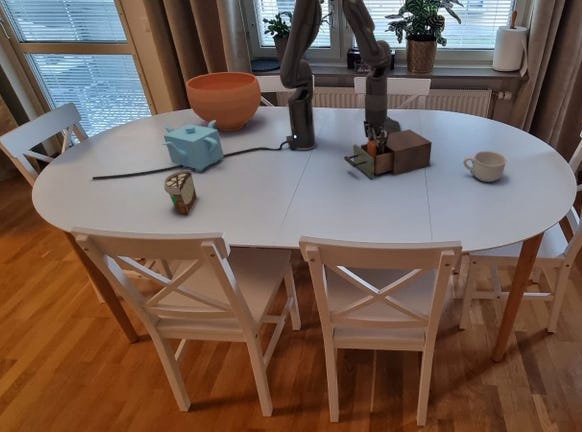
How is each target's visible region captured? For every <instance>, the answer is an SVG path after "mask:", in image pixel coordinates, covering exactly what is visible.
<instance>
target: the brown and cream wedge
mask: <svg viewBox="0 0 582 432" xmlns="http://www.w3.org/2000/svg"><path fill="white" fill-rule="evenodd" d="M163 186H164V191H165V192H166V193H167V194H168V195H169V197H170V200H171V202H172V204H173V206H174V209H175V212H176V213H178V214H180V215H184V216H189V215H190V213H191V211H192V209H194V206H195V204H196V203H197V201H198V195H197V192H196V188H195V183H194V179H193V173H192V171H191V169H183V170H180V171H177V172H174V173H172V174H170V175H168V176H167V177H166V178H165V179H164V183H163Z"/></svg>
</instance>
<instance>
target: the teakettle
mask: <svg viewBox="0 0 582 432" xmlns="http://www.w3.org/2000/svg"><path fill="white" fill-rule="evenodd" d="M215 122H216V120H213V121H211V122H210V123H208V125H207V127H206V126H201V125H196V124H191V123H188V124H185V125H184V126H181V127H179V128H177V129H173V127H171V126H170V125H167V124H166V125H162V127H163V128H164V129H165V130H166V131H167V133H165V134H164V135H163V138H164V141H165V142H163V143H161V145H162V146H166V148H167V151H168V153H169V157H170V161H171V163H172V164H176V165H184V166H183V167H180V168H182V169H185V168H188V167H189V168H192V169H194V170H195V172H198V173H199V172H203V171H204V170H205V168H207V167H208V166H210V165H211V164H217V163H218V161H219V160H220V159H222V158H225V157H224V155H225V154H224V152H223V147H222V143H221V138H220V134H219V130H218V129H217V128H214V127H215V125H214V123H215Z"/></svg>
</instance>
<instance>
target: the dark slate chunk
mask: <svg viewBox="0 0 582 432" xmlns="http://www.w3.org/2000/svg"><path fill="white" fill-rule="evenodd" d="M401 129H402V128H401V125H400V122H399V121H397V120H394V119H392V118H391V117H389V116H388V115H387V120H386V121H385V122H384V130H385V131H389V134H391V133H395V132H400V131H402V130H401Z"/></svg>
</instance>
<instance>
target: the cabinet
mask: <svg viewBox="0 0 582 432" xmlns="http://www.w3.org/2000/svg"><path fill="white" fill-rule="evenodd" d="M377 137H380V136H377ZM432 145H433V144H432V141H430V140H428V139H427V138H425V137H424V136H422V135H420V134H419V133H417V132H415V131H413V130H412V129H404V130H401V131H400V132H395V133H391V134H389V136H388V141H387V145H386V146H384V147H386V148H387V149H389V150H390V151H392V152H393V170H391V171H388V172H389V173H390V174H392V175H393V176H396V175H399V174H403V173H408V172H411V171H414V170H418V169H421V168H425V167H429V166H430V165H431V156H432V155H431V153H432Z"/></svg>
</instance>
